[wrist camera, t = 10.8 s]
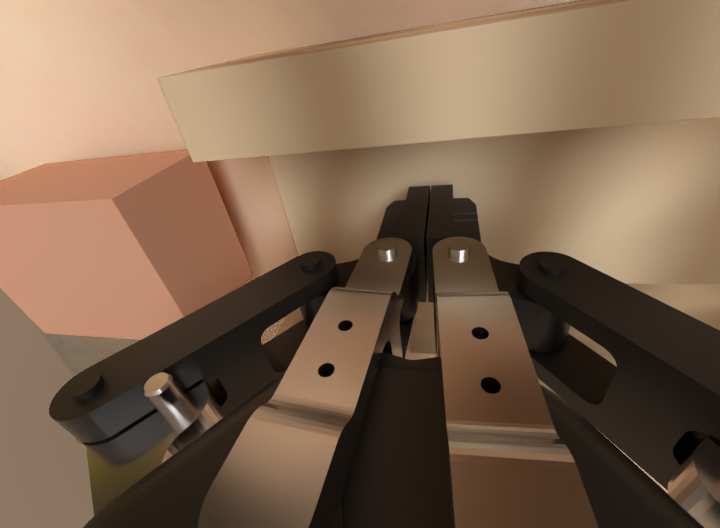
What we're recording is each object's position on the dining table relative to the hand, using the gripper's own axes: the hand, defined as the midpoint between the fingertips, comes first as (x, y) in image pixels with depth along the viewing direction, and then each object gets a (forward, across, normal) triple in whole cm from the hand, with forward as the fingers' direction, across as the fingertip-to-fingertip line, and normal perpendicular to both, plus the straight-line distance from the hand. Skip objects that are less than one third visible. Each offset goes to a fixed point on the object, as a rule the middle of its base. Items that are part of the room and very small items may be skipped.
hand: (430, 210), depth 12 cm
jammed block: (0, +12, 0) cm, 12 cm away
